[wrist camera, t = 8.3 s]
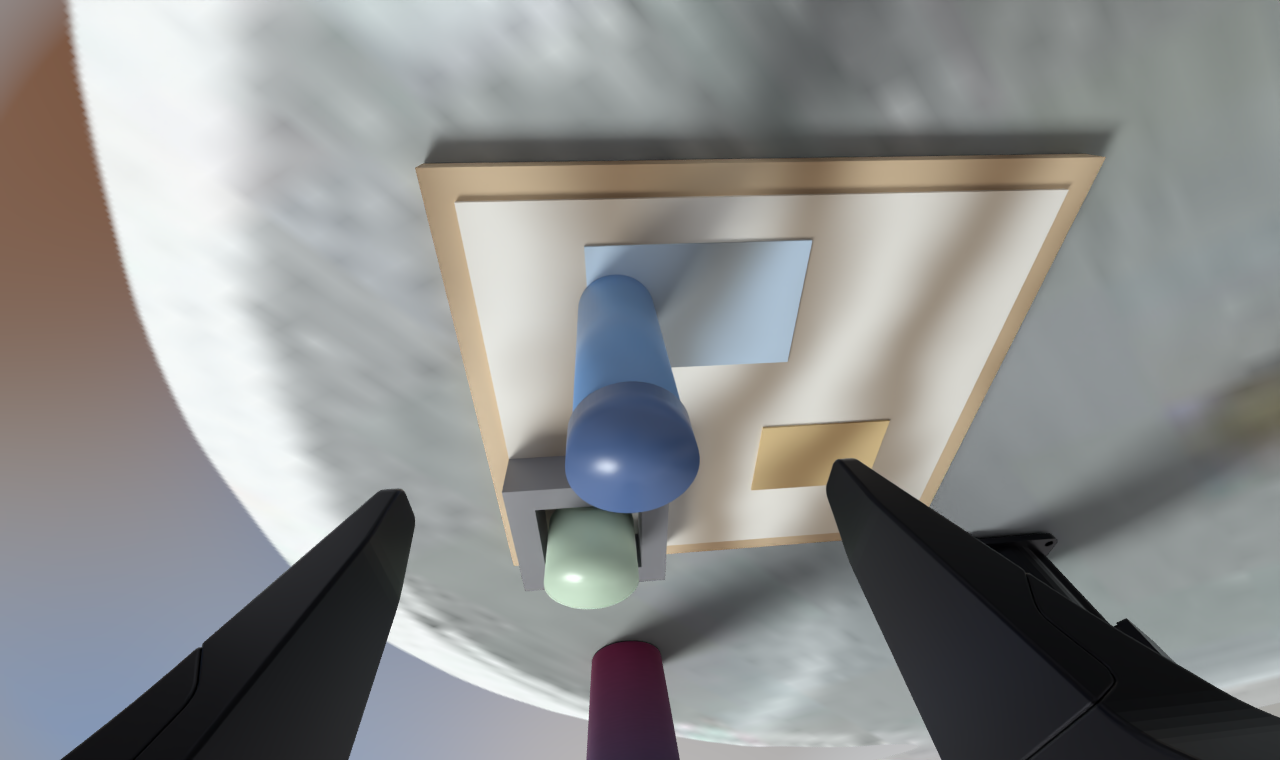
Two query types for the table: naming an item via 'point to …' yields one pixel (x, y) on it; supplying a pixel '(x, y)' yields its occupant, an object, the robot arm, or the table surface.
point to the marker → (626, 405)
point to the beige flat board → (757, 310)
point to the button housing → (548, 488)
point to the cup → (630, 705)
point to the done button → (590, 557)
